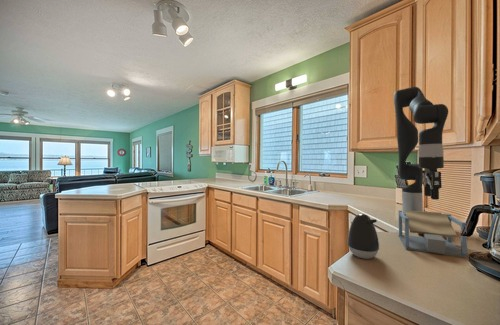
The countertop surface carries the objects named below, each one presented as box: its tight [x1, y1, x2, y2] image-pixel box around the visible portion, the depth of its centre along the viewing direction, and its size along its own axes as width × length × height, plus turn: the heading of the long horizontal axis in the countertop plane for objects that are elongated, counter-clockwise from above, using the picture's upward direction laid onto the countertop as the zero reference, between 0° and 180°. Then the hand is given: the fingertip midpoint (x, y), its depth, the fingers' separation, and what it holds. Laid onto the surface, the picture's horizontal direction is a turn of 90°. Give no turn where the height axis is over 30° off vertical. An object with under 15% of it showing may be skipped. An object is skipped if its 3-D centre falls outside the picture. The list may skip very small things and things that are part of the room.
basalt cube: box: [423, 233, 446, 255], centre depth 80 cm, size 5×5×5 cm
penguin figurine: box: [347, 213, 380, 260], centre depth 78 cm, size 10×10×15 cm
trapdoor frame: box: [397, 210, 469, 259], centre depth 87 cm, size 17×18×12 cm
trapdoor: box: [404, 210, 458, 238], centre depth 88 cm, size 14×15×4 cm
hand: (431, 197), depth 84 cm, fingers open, 8 cm apart
